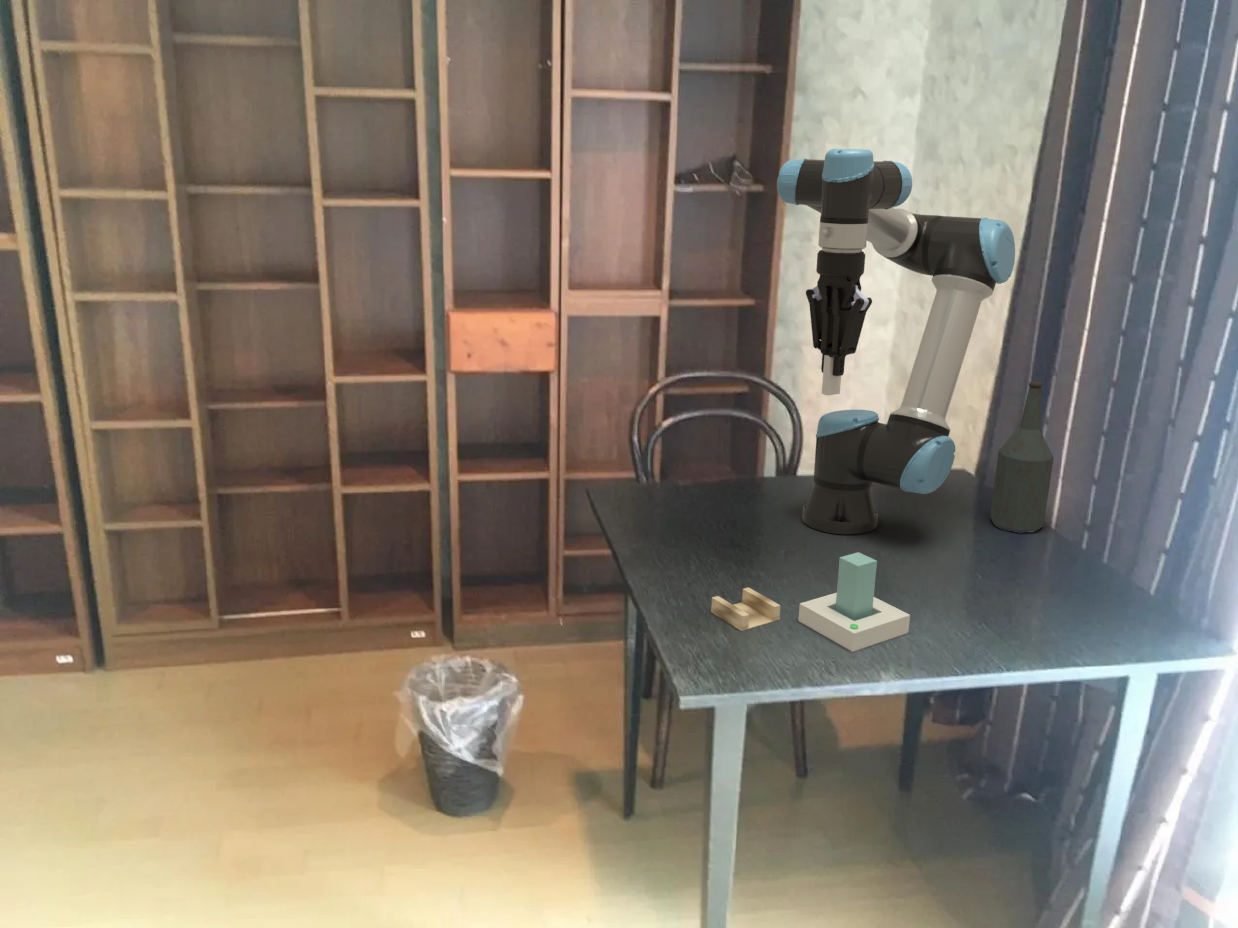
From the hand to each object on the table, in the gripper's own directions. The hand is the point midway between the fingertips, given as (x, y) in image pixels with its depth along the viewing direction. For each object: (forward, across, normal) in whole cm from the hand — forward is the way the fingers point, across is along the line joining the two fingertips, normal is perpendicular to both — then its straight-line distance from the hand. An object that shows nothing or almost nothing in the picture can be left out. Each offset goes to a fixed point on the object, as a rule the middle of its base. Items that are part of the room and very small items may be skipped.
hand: (830, 393), depth 170 cm
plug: (+33, +18, -9) cm, 39 cm away
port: (+34, +18, -9) cm, 40 cm away
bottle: (+35, 0, +55) cm, 65 cm away
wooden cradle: (+34, +6, -21) cm, 41 cm away
